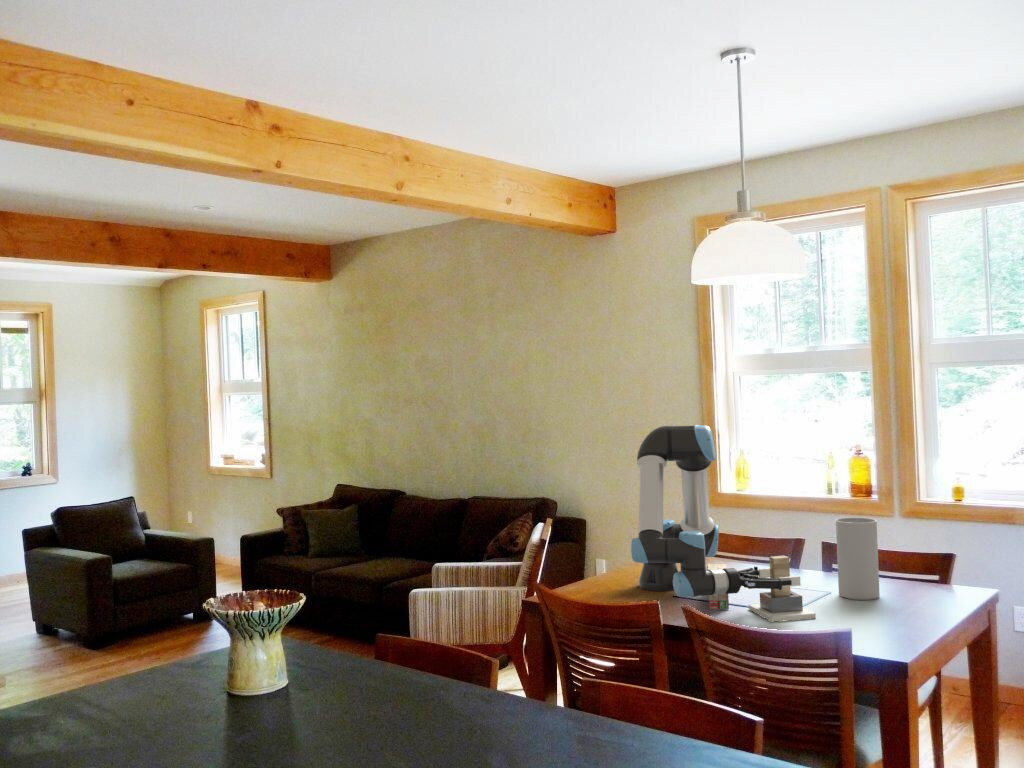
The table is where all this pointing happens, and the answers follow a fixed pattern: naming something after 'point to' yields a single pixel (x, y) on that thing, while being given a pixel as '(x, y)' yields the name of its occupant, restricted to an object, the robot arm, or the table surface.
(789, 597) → the grey rectangular socket
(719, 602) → the stack of blocks
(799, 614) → the base board
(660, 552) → the robot arm
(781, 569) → the ash slat
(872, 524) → the cylinder vase
